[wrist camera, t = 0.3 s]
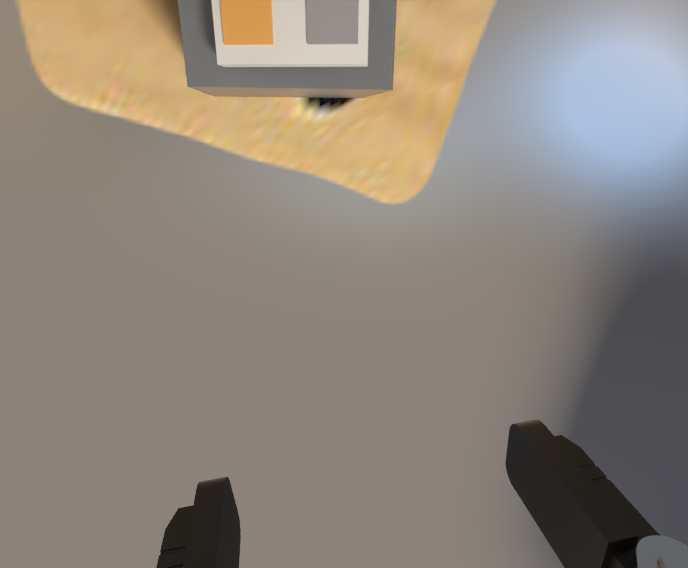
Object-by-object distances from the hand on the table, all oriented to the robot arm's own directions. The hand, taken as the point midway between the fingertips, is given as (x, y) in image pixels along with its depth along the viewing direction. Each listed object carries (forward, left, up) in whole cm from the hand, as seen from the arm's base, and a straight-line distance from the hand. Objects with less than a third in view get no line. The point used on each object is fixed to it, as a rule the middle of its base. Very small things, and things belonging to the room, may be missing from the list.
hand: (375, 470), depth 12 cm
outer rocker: (-14, -1, -17) cm, 22 cm away
